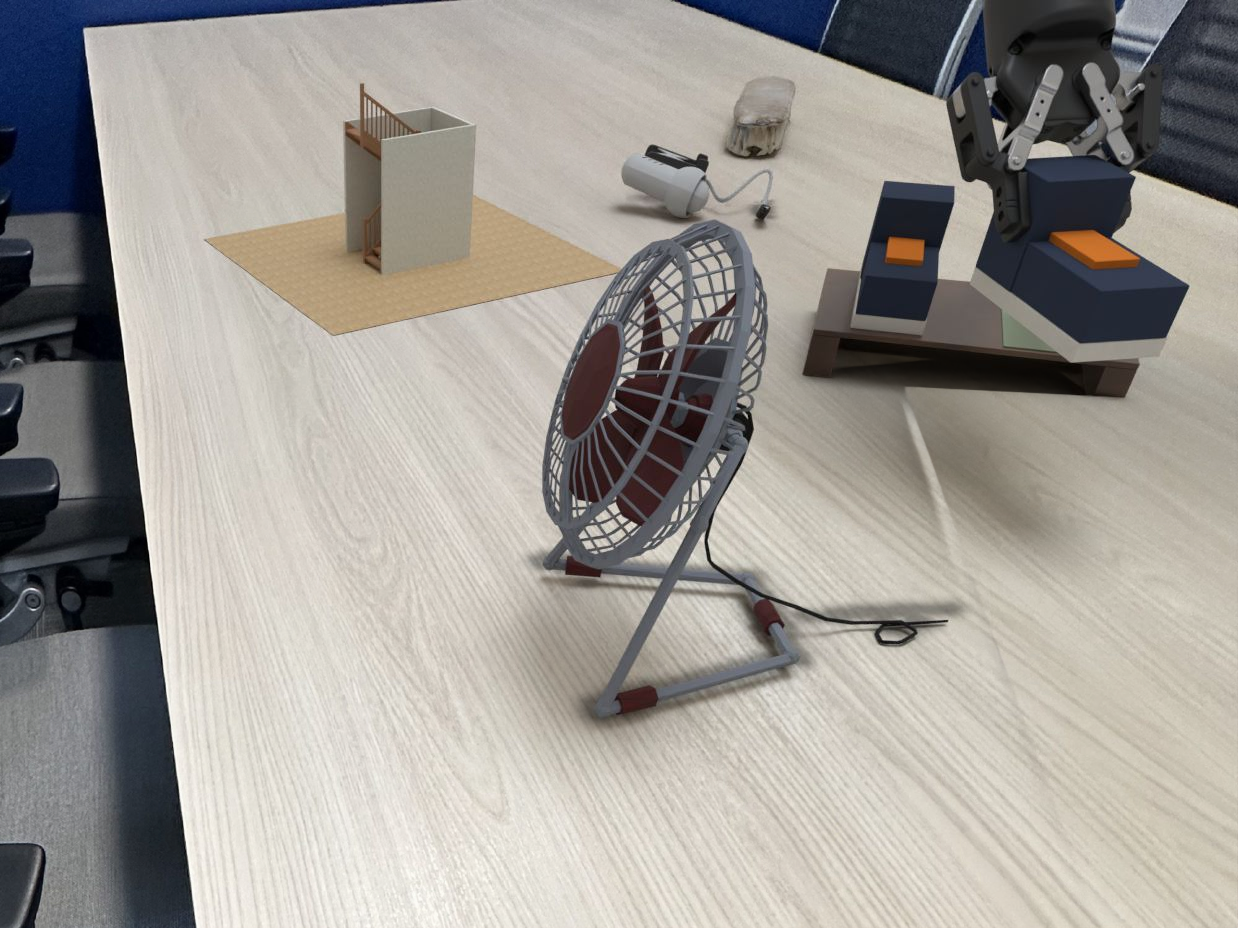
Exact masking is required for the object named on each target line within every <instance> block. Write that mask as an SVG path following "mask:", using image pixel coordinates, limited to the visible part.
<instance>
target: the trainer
mask: <svg viewBox="0 0 1238 928" xmlns="http://www.w3.org/2000/svg"><path fill="white" fill-rule="evenodd" d="M1021 170H1022V172H1028V184H1029V197H1030V209H1031V227H1030V229H1029V231H1028V232H1027V233H1025V234H1024V235H1023V236H1022V237H1021V238H1020V239H1018V240H1017V241H1016V242H1011V243H1004V242H1003V241H1002V234H998V232H997V230H996V228H995V220H994V219H995V218H994V211H993V212H992V215H991V218H990V221H989V224H988V227H987V230H986V232H985V233H986V234H985V236H984V239H983V241H982V245H981V248H980V251H979V253H978V257H977V260H976V263H975V267H974V269H973V271H972V272H973V273H972V275H971V278H970V281H969V282H970V285H971V286H973V287H974V288H975V289H976V290H978V291H979V292H980V293H982V294H983V295H984V296H986V297H987V298H988V299H989V300H991V301H992V302H993V303H995V304H996V305H997V306H998V307H1000V308H1001V309H1002V310H1004V311H1005V312H1006V313H1007V314H1009V315H1010V316H1011V317H1013V318H1014V319H1015V320H1016V321H1018V322H1019V323H1020V324H1022V325H1023V326H1024V327H1025V328H1027V329H1028V330H1029V331H1031V332H1032V333H1033V334H1034V335H1036V336H1037V337H1038V338H1040V339H1041V340H1042V341H1044V342H1045V343H1046V344H1047V345H1049V346H1050V347H1051V348H1053V349H1054V350H1055V351H1056V352H1058V353H1059V354H1060V355H1062V356H1063V357H1064V358H1065V359H1067V360H1068V361H1069V362H1068V363H1070V362H1071V363H1070V364H1074V363H1073V362H1088V361H1103V360H1118V359H1133V358H1138V359H1144V358H1145V359H1146V358H1147V359H1148V358H1159V357H1160V356H1161V353H1162V351H1163V349H1164V346H1165V344H1166V342H1167V340H1168V338H1167V336H1168V334H1169V332H1170V330H1171V328H1172V326H1173V324H1174V321H1175V319H1176V317H1177V315H1178V313H1179V310H1180V308H1181V306H1182V304H1183V302H1184V300H1185V297H1186V295H1187V293H1188V291H1189V289H1190V285H1189V284H1188V283H1186V282H1185V281H1183V280H1181V279H1180V278H1178V277H1177V276H1175V275H1173V274H1172V273H1170V272H1168V271H1167V270H1165V269H1163V268H1162V267H1160V266H1159V265H1157V264H1155V263H1154V262H1152V261H1150V260H1149V259H1147V258H1146V257H1144V256H1142V255H1141V254H1139V253H1137V252H1136V251H1135V250H1133V249H1131V248H1129V247H1128V246H1126V245H1124V244H1122V243H1121V242H1119V241H1118V240H1116V239H1114V238H1113V236H1114V234H1115V233H1114V231H1115V228H1116V226H1117V223H1118V221H1119V218H1120V216H1121V213H1122V211H1123V208H1124V206H1125V203H1126V201H1127V198H1128V196H1129V194H1130V191H1132V188H1133V186H1134V185H1135V181H1136V179H1137V176H1135V175H1134V174H1132V173H1131V172H1130V173H1128V172H1126V171H1124V170H1122V169H1120V168H1119V167H1117V166H1115V165H1113V164H1111V163H1109V162H1107V161H1106V160H1104V159H1102V158H1100V157H1098V156H1096V155H1084V156H1073V155H1070V156H1069V155H1067V156H1049V157H1033V158H1031V157H1030V158H1029V157H1028V158H1027V161H1026V164H1025V166H1024V167H1023V168H1022V169H1021ZM1130 195H1131V194H1130Z"/></svg>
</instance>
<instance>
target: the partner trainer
mask: <svg viewBox="0 0 1238 928" xmlns="http://www.w3.org/2000/svg"><path fill="white" fill-rule="evenodd" d="M955 189H956V187H955V185H946V184H945V185H944V184H933V183H932V184H931V183H921V182H920V183H919V182H906V181H895V180H894V181H893V180H884V181H883V184H882V188H881V191H880V195H879V200H878V203H877V207H876V211H875V214H874V218H873V222H872V226H871V229H870V233H869V237H868V240H867V245H866V248H865V252H864V256H863V260H862V263H861V267H860V270H859V271H860V274H859V280H858V286H857V292H856V298H855V304H854V309H853V315H852V321H851V328H855V329H864V330H874V331H883V332H892V333H902V334H911V335H921V336H922V335H923V332H924V329H925V326H926V323H927V315H928V312H929V309H930V306H931V303H932V299H933V296H934V293H935V290H936V286H937V283H938V279H939V263H940V251H941V248H942V245H943V241H944V239H945V236H946V235H945V234H946V232H947V229H948V225H949V223H950V218H951V216H952V212H953V208H954V206H955Z"/></svg>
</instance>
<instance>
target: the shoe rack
mask: <svg viewBox="0 0 1238 928" xmlns="http://www.w3.org/2000/svg"><path fill="white" fill-rule="evenodd" d="M859 274H860V270H853V269H852V270H850V269H841V268H840V269H839V268H830V267H827V268H826V272H825V276H824V281H823V284H822V289H821V293H820V296H819V301H818V305H817V309H816V313H815V317H814V322H813V327H812V330H811V334H810V340H809V344H808V349H807V352H806V356H805V361H804V366H803V370H802V375H804V376H811V377H812V376H813V377H819V378H820V377H821V378H831V376H832V373H833V368H834V365H835V360H836V356H837V352H838V349H839V345H840V342H841V339H850V340H859V341H868V342H877V343H887V344H896V345H905V346H915V347H922V348H923V347H925V348H931V349H943V350H952V351H960V352H970V353H979V354H988V355H997V356H1005V357H1007V356H1008V357H1015V358H1025V359H1035V360H1042V361H1053V362H1061V363H1070V364H1079V365H1081V364H1082V365H1081V369H1082V368H1083V372H1082V377H1084V378H1083V382H1085V384H1084V391H1085V396H1086V395H1087V396H1086V397H1101V398H1103V397H1104V398H1123V399H1125V398H1126V397H1127V394H1128V391H1130V387H1131V385H1132V383H1133V381H1134V378H1135V376H1136V374H1137V372H1138V369H1139V367H1140V365H1141V363H1140V358H1133V359H1118V360H1103V361H1088V362H1073V363H1071V362H1069V361H1068V360H1067V359H1065V358H1064V357H1063V356H1062V355H1060V354H1059V353H1058V352H1056V351H1055V350H1054V349H1053V348H1051V347H1050V346H1049V345H1047V344H1046V343H1045V342H1044V341H1042V340H1041V339H1040V338H1038V337H1037V336H1036V335H1034V334H1033V333H1032V332H1031V331H1029V330H1028V329H1027V328H1025V327H1024V326H1023V325H1022V324H1020V323H1019V322H1018V321H1016V320H1015V319H1014V318H1013V317H1011V316H1010V315H1009V314H1007V313H1006V312H1005V311H1004V310H1002V309H1001V308H1000V307H998V306H997V305H996V304H995V303H993V302H992V301H991V300H989V299H988V298H987V297H986V296H984V295H983V294H982V293H980V292H979V291H978V290H976V289H975V288H974V287H973V286H971V285H970V281H969V280H968V281H967V280H956V279H945V278H938V283H937V286H936V290H935V293H934V296H933V299H932V303H931V306H930V309H929V312H928V315H927V323H926V326H925V329H924V332H923V335H922V336H921V335H911V334H902V333H892V332H883V331H874V330H864V329H855V328H851V321H852V315H853V309H854V304H855V298H856V292H857V286H858V280H859ZM1085 388H1086V389H1085Z"/></svg>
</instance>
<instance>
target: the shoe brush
mask: <svg viewBox="0 0 1238 928" xmlns="http://www.w3.org/2000/svg"><path fill="white" fill-rule="evenodd" d="M795 95H796V84H795V82H794V81H792V80H791V79H789V78H784V77H780V76H774V75H773V76H772V75H766V76H761V77H756V78H753V79H751V80H749V81H747V82H746V84H744V87H743V89H742V91H741V93H740V94H739V98H738V99H737V100H736V101H735V104H734V106H733V113H732V114H733V124H732V126H731V128H730V131H729V134H728V136H727V138H726V141H725V142H724V144H725V145H724V146H725V147H726V149H728V151H730V152H732V153H733V154H735V155H737V156H742V157H749V156H750V154H751V153H752V151H754V152H757V153H756V156H757V157H758V156H765V155H767V153H768V155H771V154H772V153H774V150H776V151H778V150H779V149H781V146H782V144H783V140H784V136H785V130H786V128H787V127H788V124H789V122H790V119H791V117H792V106H793V101H794V99H795ZM753 147H754V148H753ZM759 149H760V151H759ZM758 151H759V152H758Z"/></svg>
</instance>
